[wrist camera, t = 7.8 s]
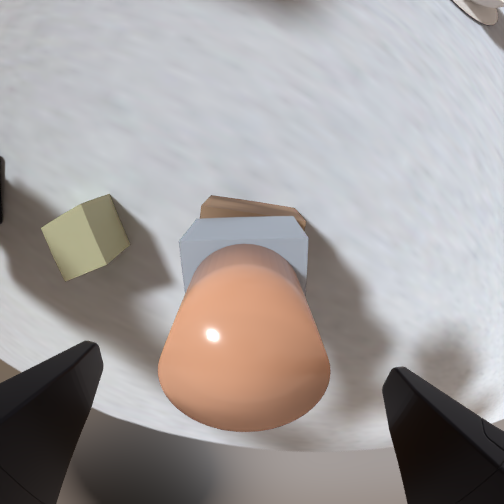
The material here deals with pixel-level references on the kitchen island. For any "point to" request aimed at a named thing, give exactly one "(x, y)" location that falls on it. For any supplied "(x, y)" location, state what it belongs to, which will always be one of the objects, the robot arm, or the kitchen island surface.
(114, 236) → the olive block
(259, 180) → the kitchen island surface
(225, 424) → the terracotta cylinder
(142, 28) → the kitchen island surface
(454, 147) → the kitchen island surface
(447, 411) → the robot arm
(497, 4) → the teacup
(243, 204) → the tower base
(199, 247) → the tower mid
